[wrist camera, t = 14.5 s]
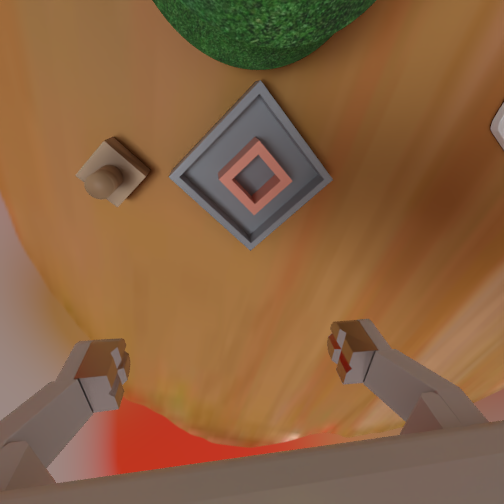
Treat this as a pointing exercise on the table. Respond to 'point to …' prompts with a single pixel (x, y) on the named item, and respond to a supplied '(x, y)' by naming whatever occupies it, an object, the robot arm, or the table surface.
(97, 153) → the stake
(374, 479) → the robot arm
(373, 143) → the table surface
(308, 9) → the decorative tree
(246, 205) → the ring
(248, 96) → the tray
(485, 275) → the table surface
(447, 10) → the table surface
